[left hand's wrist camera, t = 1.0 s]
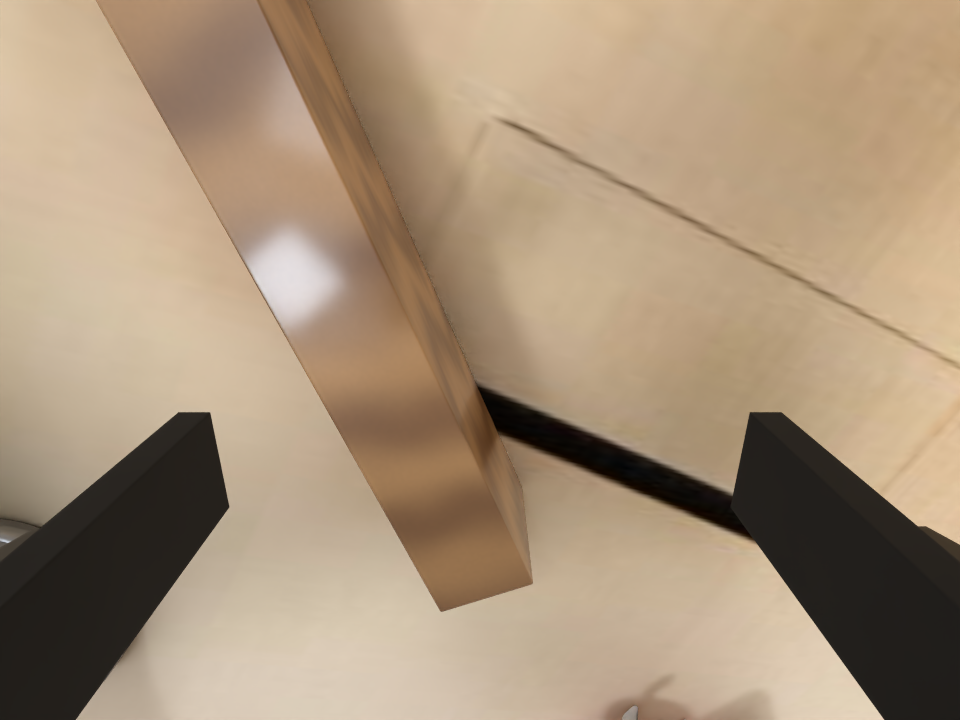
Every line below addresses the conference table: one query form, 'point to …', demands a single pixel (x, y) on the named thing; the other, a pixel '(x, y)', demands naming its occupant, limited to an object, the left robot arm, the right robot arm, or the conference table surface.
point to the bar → (336, 273)
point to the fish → (632, 714)
